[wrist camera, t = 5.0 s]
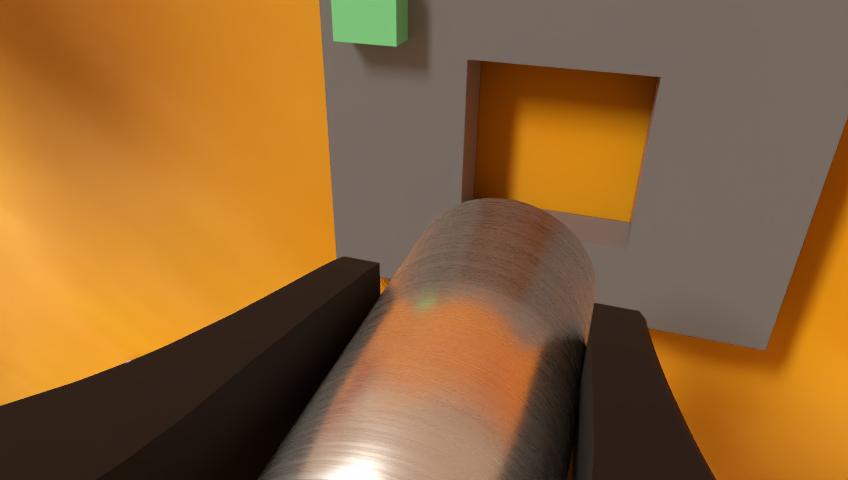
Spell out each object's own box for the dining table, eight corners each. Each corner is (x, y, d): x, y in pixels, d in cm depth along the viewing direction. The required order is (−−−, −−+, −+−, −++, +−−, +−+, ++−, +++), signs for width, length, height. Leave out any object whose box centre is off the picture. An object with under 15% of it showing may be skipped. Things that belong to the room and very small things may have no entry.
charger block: (758, 317, 18) (769, 370, 16) (357, 245, 21) (325, 282, 19) (876, -36, 13) (911, -21, 11) (342, -59, 16) (299, -50, 14)
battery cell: (587, 371, 11) (493, 983, 5) (417, 340, 12) (158, 829, 6) (606, 209, 10) (503, 806, 4) (409, 188, 11) (48, 632, 4)
